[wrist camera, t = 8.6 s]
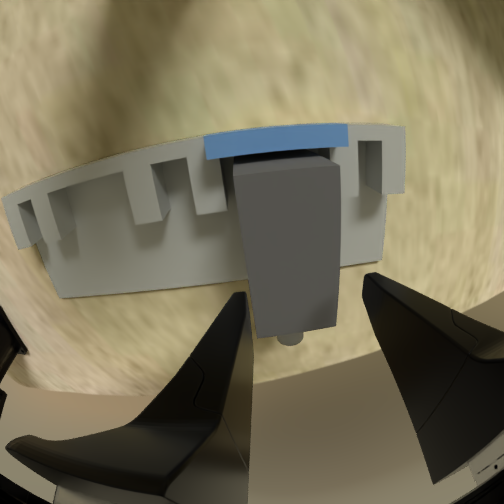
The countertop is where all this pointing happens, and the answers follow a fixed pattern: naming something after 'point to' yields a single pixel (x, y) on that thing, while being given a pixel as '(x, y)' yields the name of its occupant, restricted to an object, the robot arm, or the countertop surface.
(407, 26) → the countertop surface
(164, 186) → the grey toothed rack
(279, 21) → the countertop surface
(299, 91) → the countertop surface
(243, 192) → the dark grey knobbed block
